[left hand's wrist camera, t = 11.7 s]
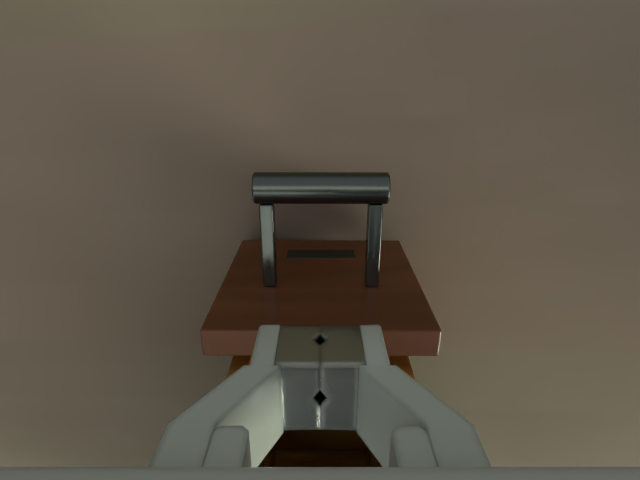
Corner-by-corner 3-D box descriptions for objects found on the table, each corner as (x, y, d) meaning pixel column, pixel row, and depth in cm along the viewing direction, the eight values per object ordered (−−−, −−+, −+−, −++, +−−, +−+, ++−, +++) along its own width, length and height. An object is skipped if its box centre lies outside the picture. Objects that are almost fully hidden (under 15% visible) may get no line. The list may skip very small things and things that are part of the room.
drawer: (236, 150, 23) (182, 197, 14) (406, 150, 22) (459, 197, 14) (257, 444, 30) (232, 591, 22) (383, 444, 30) (408, 591, 22)
